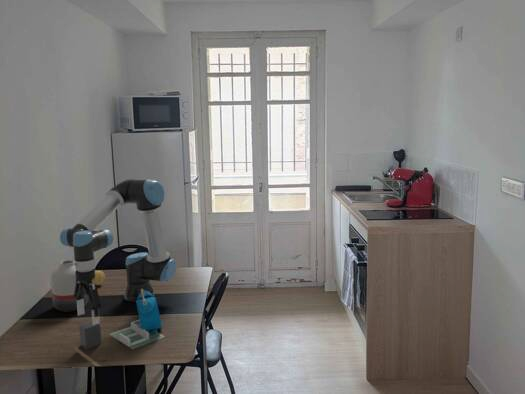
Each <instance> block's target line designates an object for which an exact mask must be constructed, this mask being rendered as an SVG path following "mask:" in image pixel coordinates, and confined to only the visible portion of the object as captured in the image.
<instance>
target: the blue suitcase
mask: <svg viewBox="0 0 525 394" xmlns="http://www.w3.org/2000/svg"><path fill="white" fill-rule="evenodd" d="M135 303H136V308H137V313H138V317H139V319H140V322H141V326H142V330H144V329H145V331H147V332H149V331H151V330H154V331H155V334H156V335H157V332H158V329H160V328H161V327H163V325H162V324H163V323H162V319H161V314H160V310H159V306H158V302H157V298H156V297H155V296H154V297H152V294H151V293H150V292H148V291H145V290H143V289H141V293H140V294H139V295H138V300H137V301H136V302H135Z"/></svg>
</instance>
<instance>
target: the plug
mask: <svg viewBox="0 0 525 394" xmlns="http://www.w3.org/2000/svg"><path fill="white" fill-rule="evenodd" d="M79 340H80V346H81V347H82V348H84V350H89V349H91V348H94V347H97V346H100V345H102V332H101V325H100V323H98V324H95V325H93V323H92V321H89V322H86V323H82V324H79Z"/></svg>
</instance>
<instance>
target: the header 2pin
mask: <svg viewBox="0 0 525 394" xmlns="http://www.w3.org/2000/svg"><path fill="white" fill-rule="evenodd" d="M130 327H131V329H132V330H134V331H136V332H138V331H137V327H140V328H142V326H141V322H140V318H139V319H137V320H134V321H131V322H130Z"/></svg>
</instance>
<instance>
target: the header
mask: <svg viewBox="0 0 525 394" xmlns="http://www.w3.org/2000/svg"><path fill="white" fill-rule="evenodd" d="M137 331H138V333H134V334H131V335H128V336H124V335H123V334H121V333H120V334H119V341H118V342H120V341H121V342H120V343H122V344H123V343H124V344H123V345H125V344H126V345H127V347H128V346H132V345H135V344H138V343H140V342H143V341H146V340H148V339H149V332H147V331H145V329H144V330H142V328H140V327H137ZM138 334H139V335H140V336H142V337H144V339H141V340H140V339H138V341H135V342H134V341H131V342H133V343H130V340H131V339H129V338H130V337H133V336H136V335H138ZM135 338H137V337H135ZM126 345H125V346H126Z"/></svg>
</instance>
